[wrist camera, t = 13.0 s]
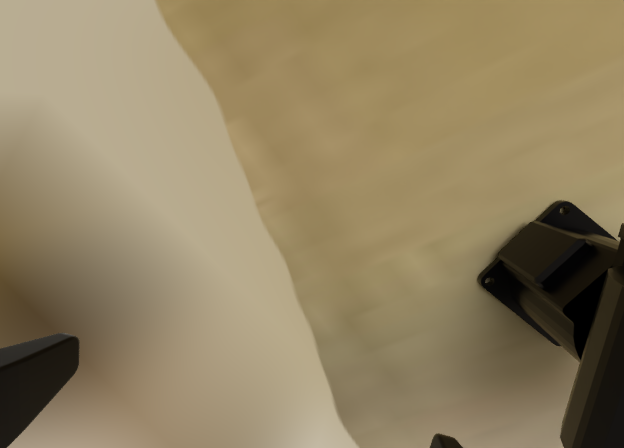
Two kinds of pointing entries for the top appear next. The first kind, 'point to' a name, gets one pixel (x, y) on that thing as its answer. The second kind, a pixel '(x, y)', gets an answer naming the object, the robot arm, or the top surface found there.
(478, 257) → the top surface
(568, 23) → the top surface
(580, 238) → the robot arm
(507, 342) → the top surface
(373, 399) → the top surface
